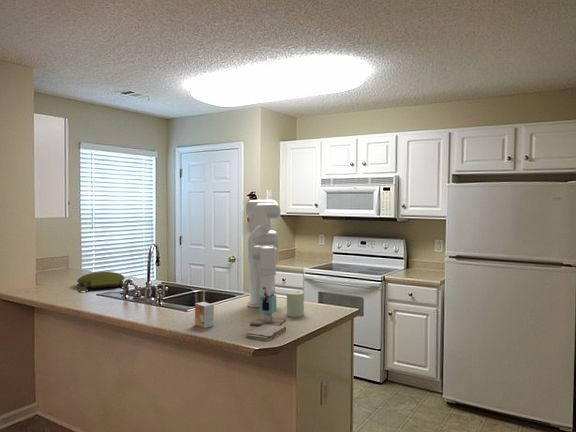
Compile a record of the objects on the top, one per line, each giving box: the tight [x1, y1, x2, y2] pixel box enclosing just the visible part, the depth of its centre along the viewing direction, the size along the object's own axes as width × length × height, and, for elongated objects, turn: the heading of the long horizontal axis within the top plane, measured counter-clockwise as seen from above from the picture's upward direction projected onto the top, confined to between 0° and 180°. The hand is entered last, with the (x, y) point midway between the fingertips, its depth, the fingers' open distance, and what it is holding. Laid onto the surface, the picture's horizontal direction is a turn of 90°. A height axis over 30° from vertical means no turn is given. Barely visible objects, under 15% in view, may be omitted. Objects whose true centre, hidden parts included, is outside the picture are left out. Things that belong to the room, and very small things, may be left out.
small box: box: [194, 301, 215, 329], centre depth 218 cm, size 8×6×10 cm
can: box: [286, 290, 305, 318], centre depth 238 cm, size 9×9×12 cm
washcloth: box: [245, 324, 287, 342], centre depth 204 cm, size 12×18×3 cm, turn 154°
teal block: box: [259, 294, 277, 315], centre depth 221 cm, size 6×6×8 cm
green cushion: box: [76, 271, 125, 292], centre depth 317 cm, size 35×31×10 cm
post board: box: [249, 313, 287, 327], centre depth 222 cm, size 13×14×8 cm
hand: (268, 308), depth 221 cm, fingers closed on teal block, 6 cm apart
